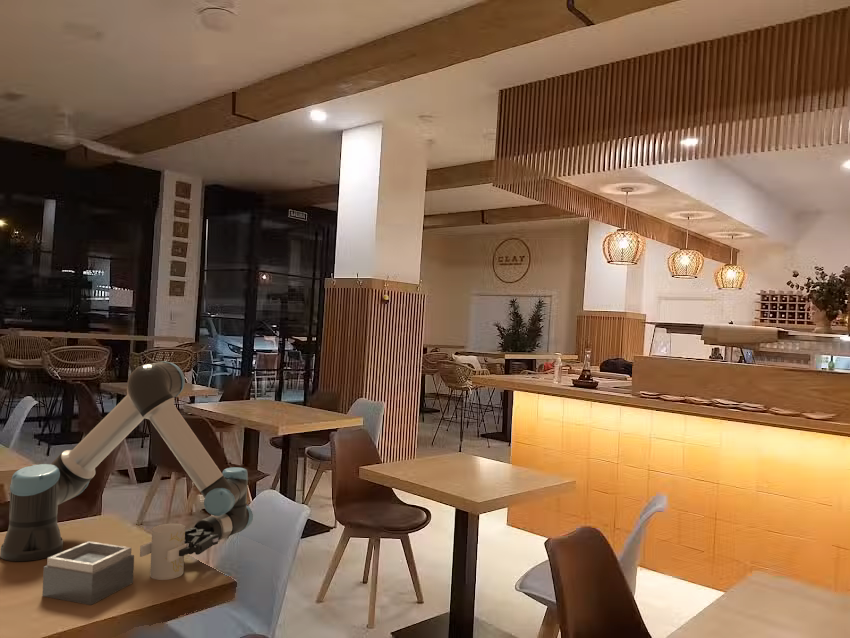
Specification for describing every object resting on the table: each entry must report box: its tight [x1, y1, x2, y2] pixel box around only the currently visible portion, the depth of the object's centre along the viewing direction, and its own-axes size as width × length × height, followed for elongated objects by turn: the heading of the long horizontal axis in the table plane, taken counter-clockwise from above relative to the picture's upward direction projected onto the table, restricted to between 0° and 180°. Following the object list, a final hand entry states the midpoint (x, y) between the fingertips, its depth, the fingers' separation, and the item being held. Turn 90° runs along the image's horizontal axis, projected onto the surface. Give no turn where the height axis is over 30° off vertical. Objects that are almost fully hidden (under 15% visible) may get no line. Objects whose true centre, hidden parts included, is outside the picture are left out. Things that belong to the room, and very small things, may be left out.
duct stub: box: [42, 540, 135, 606], centre depth 161 cm, size 14×14×9 cm
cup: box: [149, 522, 186, 581], centre depth 173 cm, size 8×8×12 cm
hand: (154, 554), depth 168 cm, fingers closed on cup, 8 cm apart
